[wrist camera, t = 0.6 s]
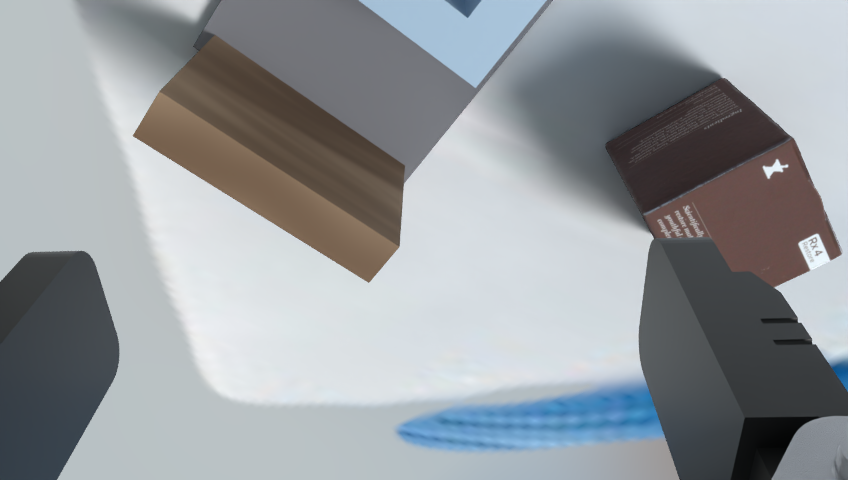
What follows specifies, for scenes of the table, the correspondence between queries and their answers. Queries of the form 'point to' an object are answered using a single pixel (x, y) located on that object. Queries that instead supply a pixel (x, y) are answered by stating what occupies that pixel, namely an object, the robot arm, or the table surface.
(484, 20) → the blue block with hole
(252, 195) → the wooden block
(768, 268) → the box
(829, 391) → the robot arm
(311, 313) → the table surface
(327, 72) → the mat
